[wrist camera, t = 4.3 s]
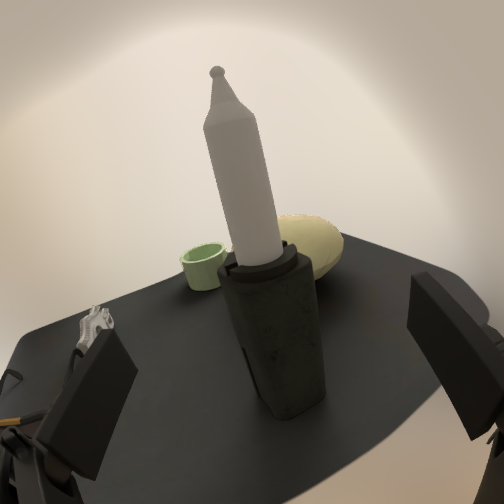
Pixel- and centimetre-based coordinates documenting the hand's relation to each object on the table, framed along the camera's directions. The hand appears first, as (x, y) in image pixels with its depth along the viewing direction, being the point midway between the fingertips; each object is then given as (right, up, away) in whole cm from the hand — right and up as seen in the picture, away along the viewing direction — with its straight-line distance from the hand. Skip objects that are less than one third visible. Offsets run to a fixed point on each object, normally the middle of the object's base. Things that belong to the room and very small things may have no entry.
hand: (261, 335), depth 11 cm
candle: (+3, -9, +11) cm, 15 cm away
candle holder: (-7, -1, +36) cm, 37 cm away
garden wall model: (-20, -10, +23) cm, 32 cm away
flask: (+5, -2, +28) cm, 28 cm away
